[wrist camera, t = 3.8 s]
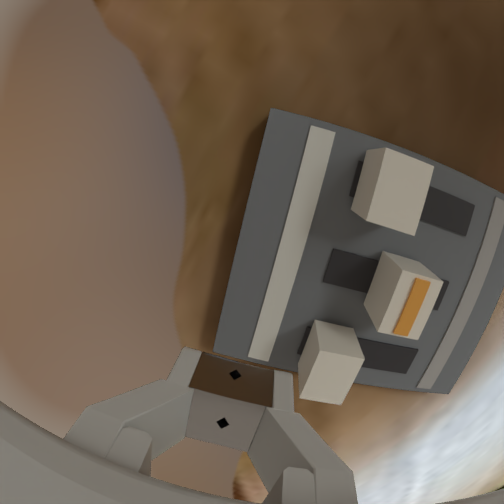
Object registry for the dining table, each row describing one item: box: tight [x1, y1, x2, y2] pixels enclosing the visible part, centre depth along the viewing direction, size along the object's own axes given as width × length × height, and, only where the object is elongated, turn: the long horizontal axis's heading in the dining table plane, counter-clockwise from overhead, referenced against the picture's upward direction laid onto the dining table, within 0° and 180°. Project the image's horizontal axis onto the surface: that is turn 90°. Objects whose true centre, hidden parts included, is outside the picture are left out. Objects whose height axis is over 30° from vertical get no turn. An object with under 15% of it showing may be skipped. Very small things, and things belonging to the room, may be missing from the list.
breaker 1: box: [298, 320, 365, 405], centre depth 21 cm, size 3×4×4 cm
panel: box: [213, 108, 504, 394], centre depth 22 cm, size 22×18×2 cm
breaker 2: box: [351, 148, 434, 236], centre depth 17 cm, size 3×4×4 cm
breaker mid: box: [364, 251, 443, 340], centre depth 19 cm, size 3×4×4 cm
